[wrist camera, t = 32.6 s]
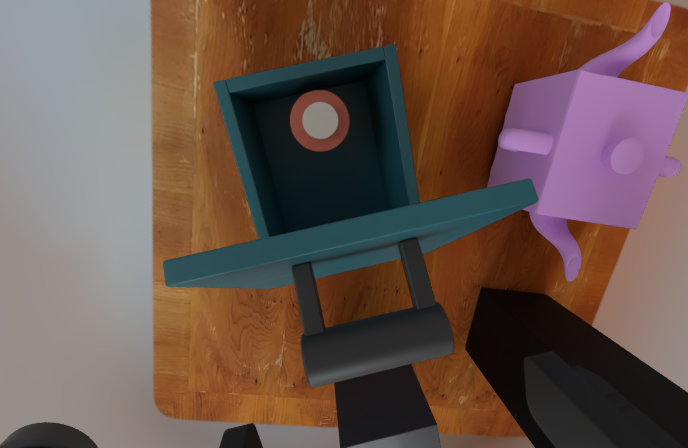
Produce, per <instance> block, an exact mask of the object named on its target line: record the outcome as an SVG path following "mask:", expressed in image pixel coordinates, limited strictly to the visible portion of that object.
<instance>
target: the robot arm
mask: <svg viewBox="0 0 688 448" xmlns="http://www.w3.org/2000/svg"><path fill="white" fill-rule="evenodd" d="M524 375H525V388H526V400H527V404H528V407H529V410H530V412H531V414H532V416H533V418H534V420H535V421H536V423H537V424H538V426H539V427H540V428H541V429H542V431H543V432H544V433H545V435H546V436H547V437H548V438H549V440H550V441H551V442H552V444H553V445H554V446H555V447H556V448H684V447H683V446H682V445H681V444H680V443H678V442H677V441H676V440H675V439H674V438H673V437H671V436H670V435H669V434H668V433H667V432H665V431H664V430H663V429H662V428H661V427H660V426H658V425H657V424H656V423H655V422H654V421H652V420H651V419H650V418H649V417H648V416H647V415H645V414H644V413H643V412H642V411H641V410H639V409H638V408H637V407H634V406H633V404H632V403H631V402H630V401H629V400H628V399H626V398H625V397H624V396H623V395H622V394H619V393H618V391H617V390H616V389H615V388H613V387H612V386H611V385H610V384H609V383H607V382H606V381H605V380H604V379H603V378H602V377H600V376H599V375H597V374H595V373H593V372H591V371H589V370H587V369H585V368H583V367H581V366H579V365H577V366H573V367H570V366H569V365H568V364H567V363H566V362H565V361H564V360H562V359H561V358H560V357H559V356H558V355H557V354H556V353H554V352H552V351H549V352H545V353H541V354H537V355H533V356H529V357H525V358H524ZM25 448H44V447H25ZM219 448H263V446H262V444H261V441H260V438H259V435H258V432H257V430H256V427H255V425H254V424H253V423H251V424H247V425H243V426H239V427H235V428H231V429H227V430H226V431H225V432H224V434H223V437H222V441H221V444H220V447H219Z"/></svg>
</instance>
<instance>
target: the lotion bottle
mask: <svg viewBox="0 0 688 448" xmlns="http://www.w3.org/2000/svg"><path fill="white" fill-rule="evenodd" d="M349 123H350V120H349V113H348V110H347V108H346V106H345V104H344V102H343V101H342V100H341V99H340V98H339V97H338V96H337V95H335V94H333V93H332V92H329V91H326V90H313V91H309V92H307V93H305V94H303V95H302V96H301V97H300V98H299V99H298V100H297V101H296V102H295V104H294V105H293V108H292V110H291V114H290V126H291V130H292V133H293V135H294V137H295V138H296V140H297V141H298V142H299V143H300V144H301V145H302V146H304V147H305V148H307V149H309V150H312V151H316V152H324V151H329V150H332V149H334V148H335V147H337V146H338V145H339V144H340V143H341V142H342V141H343V140H344V139H345V137H346V135H347V133H348V130H349Z"/></svg>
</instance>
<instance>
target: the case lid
mask: <svg viewBox="0 0 688 448" xmlns="http://www.w3.org/2000/svg"><path fill="white" fill-rule="evenodd" d="M538 201H539V198H538V196H537V193H536V190H535V187H534V184H533V181H532V179H531V178H527V179H523V180H518V181H514V182H510V183H505V184H501V185H496V186H492V187H488V188H483V189H479V190H474V191H470V192H465V193H461V194H457V195H452V196H448V197H443V198H439V199H435V200H430V201H426V202H421V203H417V204H413V205H408V206H404V207H399V208H395V209H391V210H386V211H382V212H377V213H373V214H369V215H364V216H360V217H355V218H351V219H347V220H342V221H338V222H333V223H329V224H324V225H320V226H316V227H311V228H307V229H302V230H298V231H294V232H289V233H285V234H280V235H276V236H272V237H267V238H263V239H258V240H254V241H250V242H245V243H241V244H236V245H232V246H228V247H223V248H219V249H214V250H210V251H206V252H201V253H197V254H192V255H188V256H184V257H179V258H175V259H170V260H166V261H164V262H163V268H164V276H165V284H166V286H167V287H205V288H260V289H273V288H277V287H281V286H286V285H290V284H295V289H296V294H297V299H298V304H299V309H300V314H301V319H302V324H303V329H304V334H302V337H301V351H302V359H303V364H304V369H305V373H306V377H307V380H308V383H309V384H310V386H311V387H318V386H322V385H326V384H330V383H334V382H338V381H343V380H347V379H351V378H355V377H359V376H363V375H367V374H371V373H376V372H380V371H384V370H388V369H392V368H396V367H400V366H404V365H408V364H413V363H417V362H421V361H425V360H429V359H433V358H437V357H441V356H445V355H450V354H452V353H453V352H454V337H453V333H452V329H451V326H450V323H449V320H448V317H447V315H446V313H445V311H444V309H443V308H442V306H441V305H440V304H439V303H437V302H435V298H434V295H433V291H432V287H431V284H430V280H429V276H428V273H427V269H426V265H425V262H424V258H423V254H424V253H428V252H431V251H433V250H435V249H437V248H439V247H441V246H444V245H446V244H448V243H450V242H452V241H454V240H456V239H459V238H461V237H463V236H465V235H467V234H469V233H472V232H474V231H476V230H478V229H480V228H482V227H485V226H487V225H489V224H491V223H493V222H495V221H498V220H500V219H502V218H504V217H506V216H508V215H511V214H513V213H515V212H517V211H519V210H521V209H524V208H526V207H528V206H530V205H532V204H534V203H536V202H538ZM398 259H401V261H402V264H403V268H404V272H405V276H406V280H407V284H408V287H409V291H410V295H411V299H412V303H413V308H408V309H404V310H400V311H396V312H392V313H387V314H383V315H379V316H375V317H371V318H366V319H362V320H358V321H354V322H349V323H345V324H341V325H337V326H333V327H328V328H325V324H324V319H323V314H322V310H321V305H320V300H319V295H318V291H317V286H316V281H315V279H316V278H320V277H324V276H329V275H333V274H337V273H342V272H346V271H350V270H355V269H359V268H363V267H368V266H372V265H376V264H380V263H385V262H389V261H393V260H398Z"/></svg>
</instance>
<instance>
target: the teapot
mask: <svg viewBox="0 0 688 448" xmlns="http://www.w3.org/2000/svg"><path fill="white" fill-rule="evenodd" d="M670 12H671V6H670V4H669V3H668V2H666V3H663V4H662V5H661V6H660V7H659V8H658V9H657V10H656V11H655V13H654V14H653V16H652V17H651V18H650V20H649V21H648V22H647V24H646V25H645V26H644V27H643V28H642V29H641V30H640V31H639V32H638V33H637V34H636V35H635V36H634V37H632V38H631V39H630V40H628V41H627V42H625V43H623V44H622V45H620V46H618V47H616V48H614V49H612V50H610V51H608V52H606V53H604V54H601V55H599V56H598V57H596V58H594V59H592V60H590V61H589V62H587V63H586V64H584V65H583V66H582V67H580V68H579V69H578V70H574V71H570V72H565V73H561V74H557V75H553V76H548V77H544V78H540V79H535V80H531V81H527V82H523V83H518V84H515V85H514V89H513V92H512V96H511V100H510V103H509V107H508V110H507V112H506V114H505V122H504V126H503V129H502V132H501V133H500V135H499V139H498V143H499V144H498V148H497V151H496V155H495V159H494V163H493V166H492V167H491V170H490V178H489V181H488V185H487V188H488V187H492V186H496V185H501V184H505V183H510V182H514V181H518V180H523V179H527V178H531V179H532V181H533V184H534V187H535V190H536V193H537V196H538V198H539V201H538V202H536V203H534V204H532V205H530V206H528V207H526V208H524V209H523V210H525V211H528V212H529V214H530V218H531V221H532V223H533V225H534V227H535V228H536V229H537V231H538V232H539V233H540V234H541V235H543V236H544V237H545V238H546V239H547V240H548V241H550V242H551V243H552V244H553V245H554V246H555V247H556V248H557V249H558V251H559V252H560V254H561V256H562V258H563V261H564V268H565V277H566V279H567V281H569V282H570V281H573V280H574V279H575V278H576V277H577V275H578V273H579V270H580V267H581V262H582V257H581V251H580V248H579V246H578V244H577V242H576V241H575V239H574V238H573V237H572V235H571V234H570V232H569V229H568V224H567V220H568V219H571V220H578V221H584V222H591V223H597V224H604V225H610V226H617V227H623V228H630V229H637V227H638V224H639V222H640V219H641V217H642V215H643V212H644V210H645V207H646V205H647V202H648V199H649V197H650V194H651V192H652V189H653V187H654V184H655V182H656V179H657V177H658V176H661V177H673V176H675V175H677V174H678V173H679V172H680V170H681V167H682V164H681V162H680V161H679V160H678V159H676V158H673V157H668V156H666V153H667V151H668V148H669V146H670V143H671V140H672V138H673V135H674V132H675V130H676V127H677V125H678V122H679V119H680V117H681V114H682V111H683V109H684V106H685V103H686V100H687V98H688V93H686V92H681V91H677V90H672V89H667V88H663V87H658V86H654V85H649V84H644V83H640V82H635V81H631V80H626V79H621V78H617V77H618V76H619V74H620V73H621V72H622V71H623V70H624V69H625V68H627V67H628V66H629V65H630V64H632V63H633V62H635V61H636V60H637V59H639V58H640V57H641V56H643V55H644V54H645V53H646V52H647V51H648V50H649V49H650V48H651V47H652V46H653V45H654V44H655V43H656V42H657V41H658V39H659V38H660V37H661V35H662V33H663V32H664V30H665V28H666V25H667V23H668V20H669V17H670Z"/></svg>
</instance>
